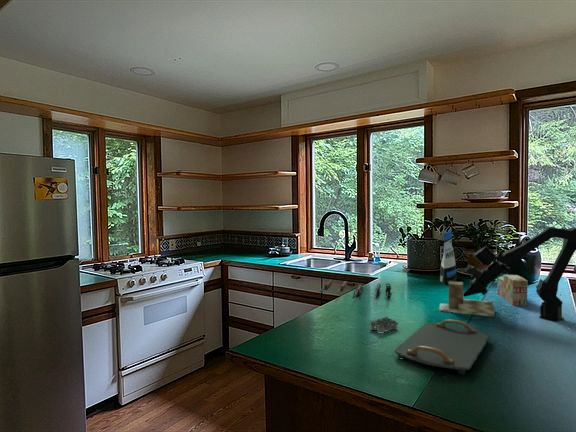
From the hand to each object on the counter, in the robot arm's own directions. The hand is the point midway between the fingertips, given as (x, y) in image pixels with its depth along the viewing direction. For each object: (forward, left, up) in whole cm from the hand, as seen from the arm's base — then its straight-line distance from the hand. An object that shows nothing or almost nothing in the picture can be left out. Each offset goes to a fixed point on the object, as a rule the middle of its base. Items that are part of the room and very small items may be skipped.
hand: (463, 295), depth 168 cm
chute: (-1, -1, -7) cm, 7 cm away
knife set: (+46, +25, -7) cm, 53 cm away
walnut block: (+3, +2, -5) cm, 6 cm away
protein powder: (+45, -45, -7) cm, 64 cm away
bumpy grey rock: (+1, +47, -7) cm, 48 cm away
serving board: (-25, +43, -7) cm, 50 cm away
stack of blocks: (0, -35, -7) cm, 35 cm away
